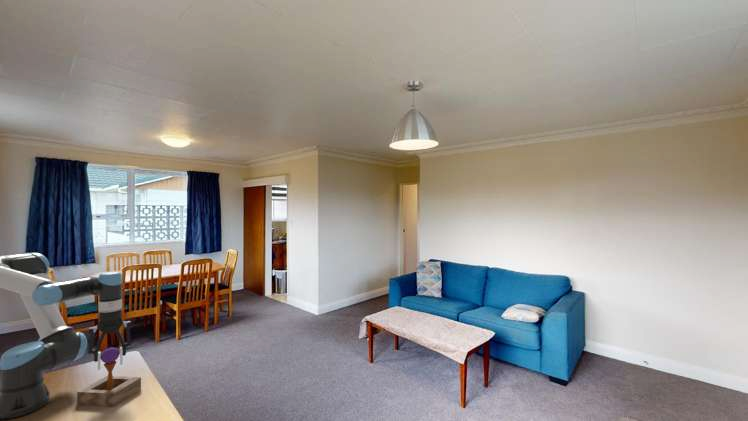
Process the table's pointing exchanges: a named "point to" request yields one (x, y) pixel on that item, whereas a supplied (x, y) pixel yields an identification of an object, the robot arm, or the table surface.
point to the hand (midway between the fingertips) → (110, 366)
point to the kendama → (110, 364)
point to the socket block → (103, 397)
